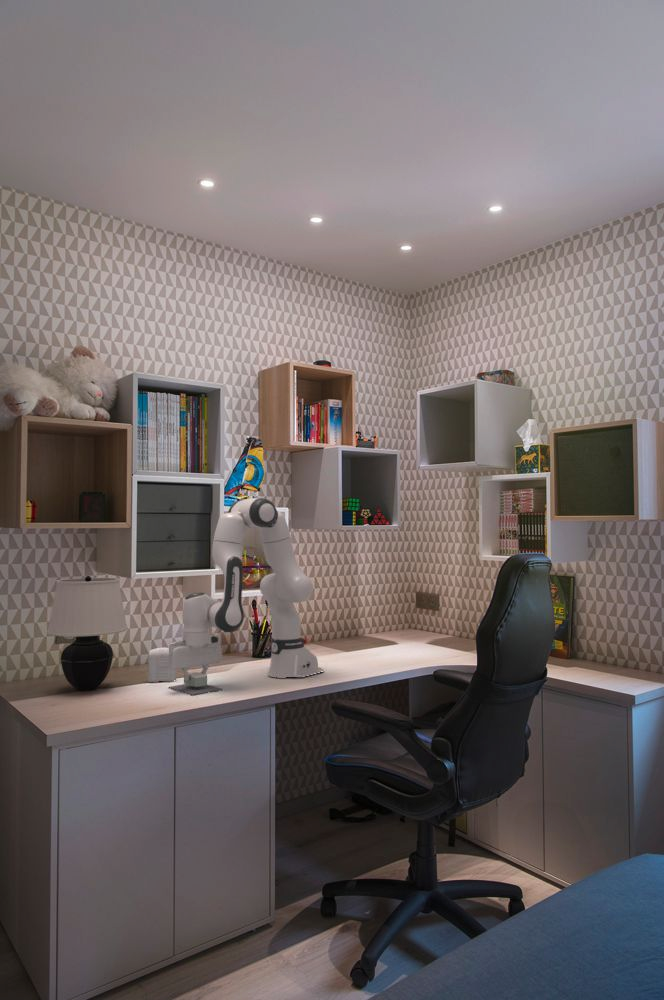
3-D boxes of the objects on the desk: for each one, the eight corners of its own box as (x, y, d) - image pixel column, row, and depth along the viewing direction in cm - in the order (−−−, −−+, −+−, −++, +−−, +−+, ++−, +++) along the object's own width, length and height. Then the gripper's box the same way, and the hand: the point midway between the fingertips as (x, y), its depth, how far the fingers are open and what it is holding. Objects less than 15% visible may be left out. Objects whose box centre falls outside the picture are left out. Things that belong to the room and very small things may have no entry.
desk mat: (197, 683, 258) (197, 681, 258) (222, 690, 246) (222, 688, 246) (168, 688, 249) (168, 686, 249) (192, 695, 238) (192, 694, 238)
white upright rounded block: (176, 679, 265) (176, 646, 266) (176, 681, 261) (176, 648, 261) (147, 680, 262) (147, 647, 263) (147, 683, 258) (147, 649, 259)
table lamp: (118, 678, 267) (119, 572, 268) (134, 692, 243) (135, 576, 245) (41, 686, 254) (43, 575, 256) (51, 702, 230) (52, 579, 232)
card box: (207, 684, 246) (207, 674, 247) (196, 686, 243) (196, 676, 243) (194, 681, 252) (194, 671, 252) (183, 683, 249) (183, 673, 249)
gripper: (173, 643, 239) (173, 684, 238) (224, 637, 253) (224, 676, 252) (164, 641, 244) (164, 682, 243) (214, 635, 258) (214, 673, 257)
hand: (195, 678), depth 248 cm, fingers open, 5 cm apart
